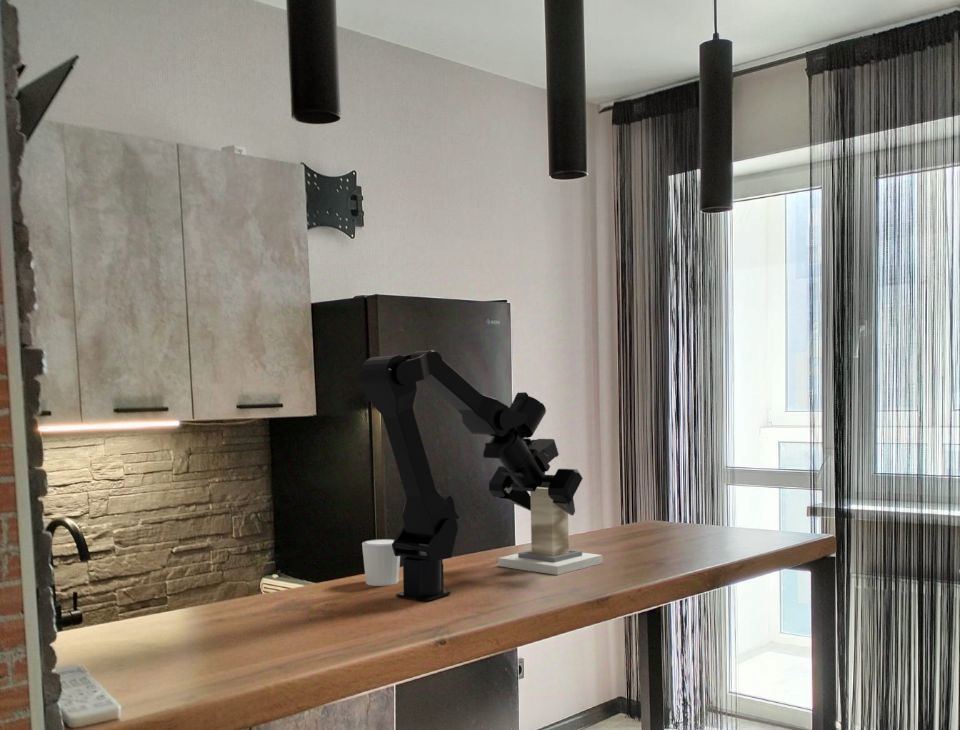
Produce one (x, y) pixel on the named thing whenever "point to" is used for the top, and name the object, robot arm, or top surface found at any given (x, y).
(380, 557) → the white cup
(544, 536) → the maple pillar
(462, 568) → the top surface
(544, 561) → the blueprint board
